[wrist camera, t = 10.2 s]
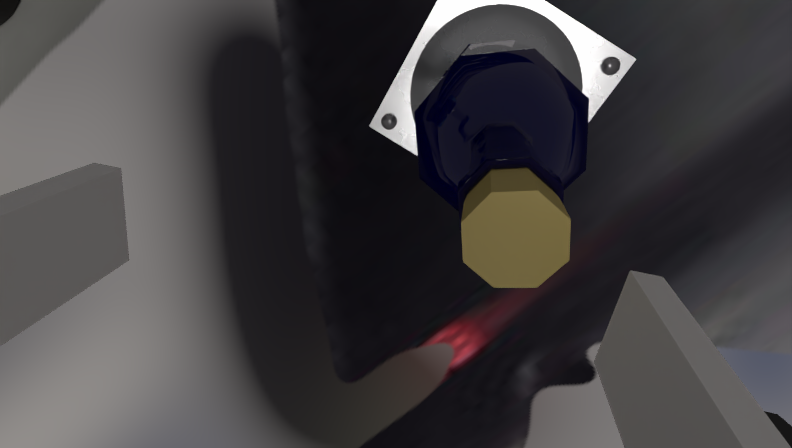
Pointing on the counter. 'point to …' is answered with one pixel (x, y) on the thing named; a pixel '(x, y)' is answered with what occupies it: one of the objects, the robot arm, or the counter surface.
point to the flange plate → (487, 22)
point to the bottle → (505, 158)
